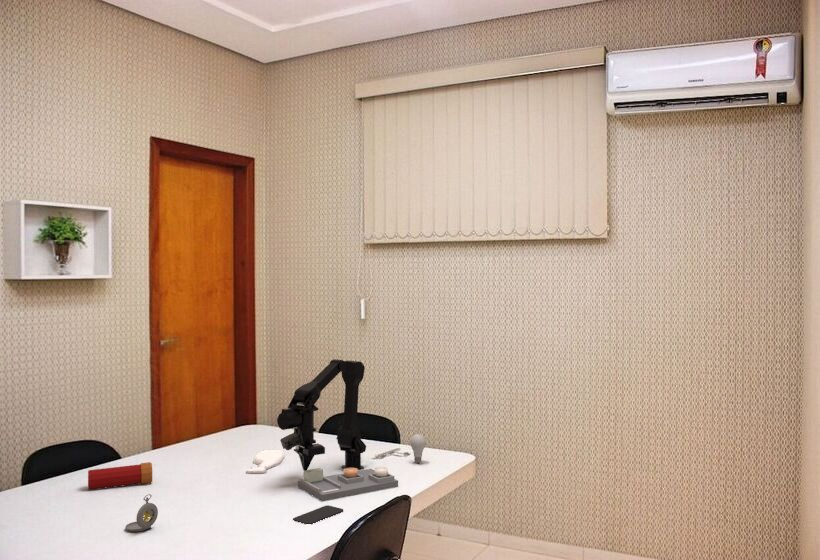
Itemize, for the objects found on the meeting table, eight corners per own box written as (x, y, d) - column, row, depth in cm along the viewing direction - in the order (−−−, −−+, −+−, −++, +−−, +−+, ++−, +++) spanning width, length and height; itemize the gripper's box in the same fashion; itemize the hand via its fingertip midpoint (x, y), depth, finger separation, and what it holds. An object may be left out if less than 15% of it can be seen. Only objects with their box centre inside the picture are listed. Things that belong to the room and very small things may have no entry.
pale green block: (303, 481, 225) (303, 470, 225) (319, 478, 228) (319, 467, 229) (306, 483, 223) (306, 472, 223) (323, 480, 227) (323, 469, 227)
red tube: (152, 485, 228) (153, 464, 228) (87, 492, 220) (87, 470, 220) (151, 480, 235) (151, 460, 235) (88, 486, 227) (88, 465, 227)
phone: (290, 518, 194) (327, 504, 206) (290, 521, 194) (327, 507, 206) (309, 524, 190) (345, 509, 202) (309, 527, 190) (345, 512, 202)
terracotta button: (341, 474, 228) (341, 468, 228) (353, 472, 230) (353, 466, 230) (348, 478, 224) (348, 472, 224) (360, 475, 226) (360, 469, 226)
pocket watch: (130, 524, 190) (130, 489, 190) (160, 523, 191) (160, 488, 191) (120, 535, 182) (120, 498, 182) (152, 534, 183) (152, 497, 183)
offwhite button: (372, 474, 229) (372, 468, 229) (383, 472, 231) (383, 466, 231) (379, 477, 225) (379, 471, 225) (390, 475, 227) (390, 469, 227)
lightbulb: (424, 465, 254) (424, 436, 254) (408, 464, 255) (408, 435, 255) (427, 461, 260) (427, 433, 260) (411, 460, 261) (411, 432, 261)
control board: (298, 487, 226) (298, 476, 226) (370, 474, 242) (370, 464, 242) (322, 501, 211) (322, 490, 211) (398, 486, 227) (398, 476, 227)
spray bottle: (287, 457, 266) (271, 476, 242) (259, 457, 267) (241, 475, 242) (286, 450, 266) (271, 467, 242) (259, 449, 267) (241, 467, 242)
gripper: (272, 423, 235) (272, 468, 234) (295, 432, 219) (295, 480, 219) (301, 419, 241) (301, 463, 241) (325, 428, 225) (325, 475, 225)
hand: (305, 470), depth 231 cm, fingers closed
